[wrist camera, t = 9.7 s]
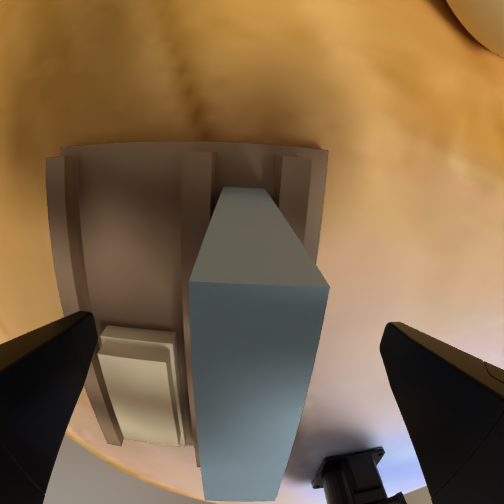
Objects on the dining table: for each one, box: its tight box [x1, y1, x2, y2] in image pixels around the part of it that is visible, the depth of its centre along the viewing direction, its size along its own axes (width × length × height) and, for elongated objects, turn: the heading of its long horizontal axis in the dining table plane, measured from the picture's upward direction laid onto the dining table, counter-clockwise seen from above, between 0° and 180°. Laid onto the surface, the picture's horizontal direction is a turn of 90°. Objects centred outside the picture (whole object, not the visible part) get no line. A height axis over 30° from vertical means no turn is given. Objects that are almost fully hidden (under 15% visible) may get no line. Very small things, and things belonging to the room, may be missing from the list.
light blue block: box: [189, 187, 330, 501], centre depth 11 cm, size 7×2×11 cm, turn 176°
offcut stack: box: [98, 325, 187, 447], centre depth 17 cm, size 10×4×2 cm, turn 176°
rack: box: [46, 141, 328, 467], centre depth 17 cm, size 22×14×4 cm, turn 176°
